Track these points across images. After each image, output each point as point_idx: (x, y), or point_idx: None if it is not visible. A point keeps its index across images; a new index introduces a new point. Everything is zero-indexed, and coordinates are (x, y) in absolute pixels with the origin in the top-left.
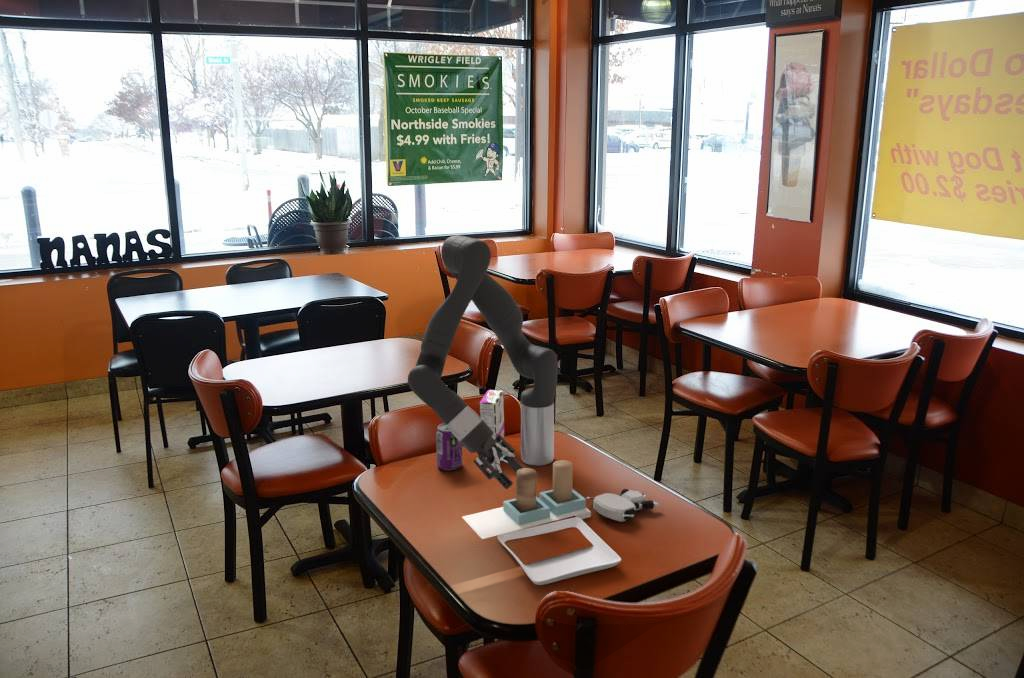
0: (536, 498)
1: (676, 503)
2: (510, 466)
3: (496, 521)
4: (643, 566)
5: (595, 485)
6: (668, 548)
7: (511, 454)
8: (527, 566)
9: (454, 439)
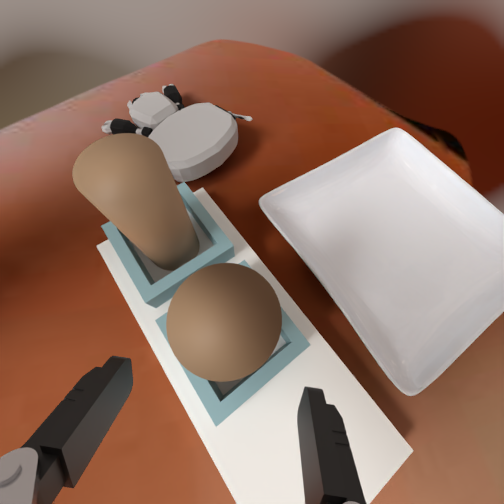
0: None
1: (143, 78)
2: (94, 451)
3: (294, 425)
4: (358, 119)
5: (48, 194)
6: (295, 92)
7: (6, 489)
8: (465, 292)
9: None
